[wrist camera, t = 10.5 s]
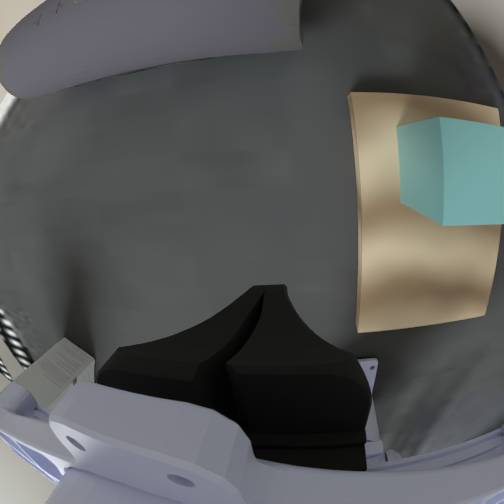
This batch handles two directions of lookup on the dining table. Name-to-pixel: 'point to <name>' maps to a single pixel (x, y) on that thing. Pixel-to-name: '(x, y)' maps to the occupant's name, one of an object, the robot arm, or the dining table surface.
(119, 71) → the bluetooth speaker
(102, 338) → the dining table surface
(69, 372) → the skincare box
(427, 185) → the teal foam brick
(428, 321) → the base board
